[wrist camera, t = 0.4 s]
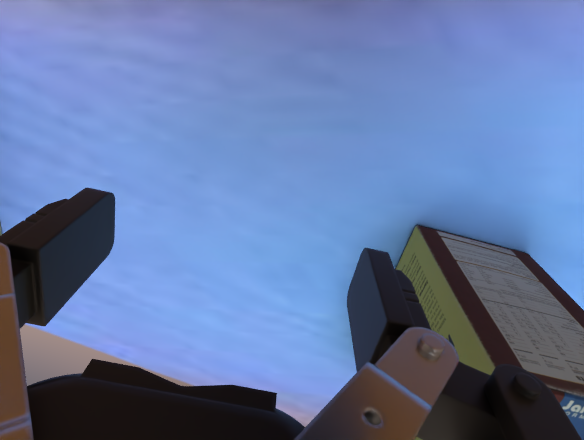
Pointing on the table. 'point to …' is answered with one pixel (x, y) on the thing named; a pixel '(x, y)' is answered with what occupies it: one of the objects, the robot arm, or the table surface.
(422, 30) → the table surface
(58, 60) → the table surface
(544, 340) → the protein box
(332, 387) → the table surface
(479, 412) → the robot arm
